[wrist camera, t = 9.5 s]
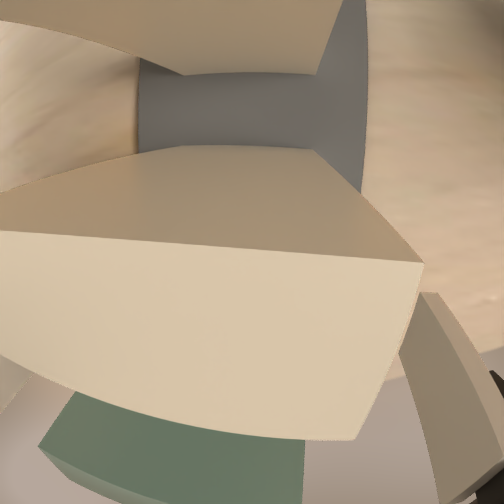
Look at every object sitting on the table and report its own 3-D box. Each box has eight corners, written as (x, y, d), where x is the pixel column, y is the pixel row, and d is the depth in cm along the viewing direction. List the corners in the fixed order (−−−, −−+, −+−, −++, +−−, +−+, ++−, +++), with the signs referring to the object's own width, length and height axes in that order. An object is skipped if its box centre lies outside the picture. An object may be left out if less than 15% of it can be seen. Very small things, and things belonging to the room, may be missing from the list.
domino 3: (299, 294, 13) (287, 538, 4) (188, 283, 13) (69, 479, 4) (303, 261, 12) (300, 522, 3) (185, 251, 13) (37, 446, 4)
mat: (174, -112, 5) (173, -115, 5) (343, -119, 4) (344, -123, 4) (160, 328, 15) (157, 332, 15) (331, 348, 14) (332, 351, 14)
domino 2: (182, 145, 11) (-72, 225, 2) (312, 149, 10) (424, 263, 1) (183, 184, 12) (-37, 331, 3) (309, 191, 11) (354, 439, 2)
